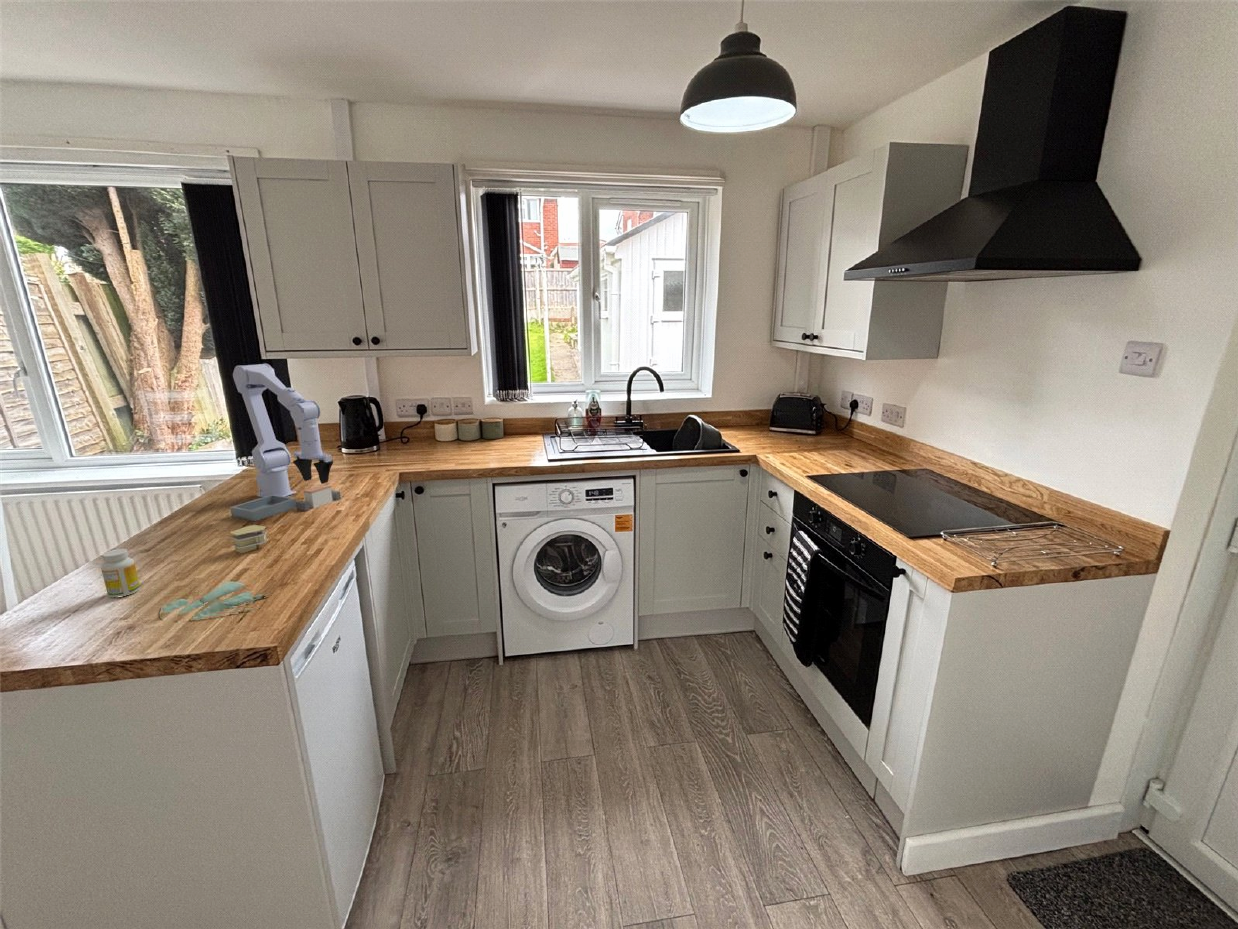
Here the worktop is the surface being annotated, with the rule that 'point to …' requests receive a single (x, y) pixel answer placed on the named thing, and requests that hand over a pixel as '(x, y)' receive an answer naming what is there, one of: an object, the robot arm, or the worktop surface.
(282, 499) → the tray
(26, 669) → the worktop surface
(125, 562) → the supplement bottle
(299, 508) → the grey blocks
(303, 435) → the robot arm
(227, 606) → the pale green flat pieces
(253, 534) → the beige layered stack
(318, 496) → the pink and gray block
